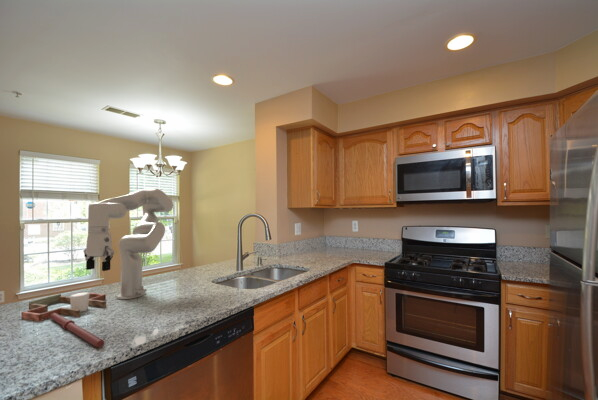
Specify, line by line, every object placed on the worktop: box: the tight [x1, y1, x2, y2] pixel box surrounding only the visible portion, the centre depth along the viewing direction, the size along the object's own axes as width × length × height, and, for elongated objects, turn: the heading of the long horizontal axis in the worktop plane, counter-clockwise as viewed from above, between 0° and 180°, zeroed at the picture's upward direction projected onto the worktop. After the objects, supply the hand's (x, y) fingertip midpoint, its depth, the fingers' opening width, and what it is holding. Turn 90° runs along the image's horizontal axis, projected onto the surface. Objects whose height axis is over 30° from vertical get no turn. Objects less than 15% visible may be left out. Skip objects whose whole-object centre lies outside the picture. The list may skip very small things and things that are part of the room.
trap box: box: [20, 292, 107, 322], centre depth 121 cm, size 32×27×4 cm
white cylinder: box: [69, 291, 91, 312], centre depth 119 cm, size 7×7×7 cm
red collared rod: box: [50, 313, 105, 348], centre depth 97 cm, size 45×3×3 cm, turn 57°
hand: (98, 269), depth 116 cm, fingers open, 9 cm apart
